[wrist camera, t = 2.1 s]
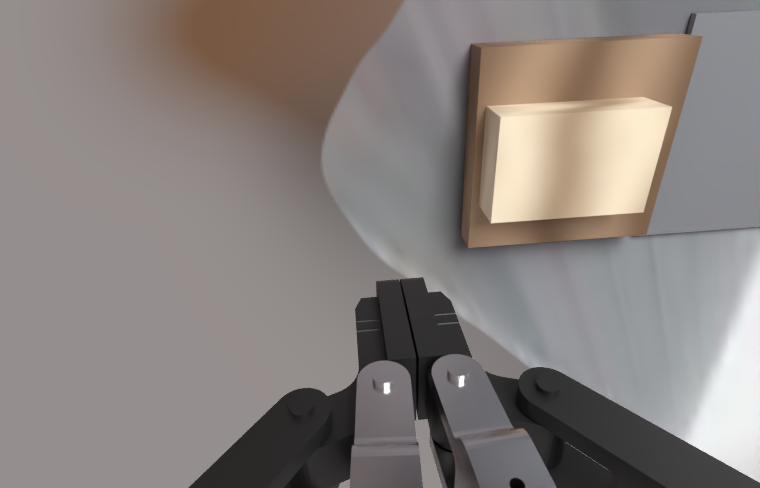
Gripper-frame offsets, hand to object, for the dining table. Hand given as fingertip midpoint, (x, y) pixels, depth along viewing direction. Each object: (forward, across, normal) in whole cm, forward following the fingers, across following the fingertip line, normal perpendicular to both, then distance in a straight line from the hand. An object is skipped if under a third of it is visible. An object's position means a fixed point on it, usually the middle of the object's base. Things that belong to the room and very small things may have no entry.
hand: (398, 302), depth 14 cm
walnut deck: (+15, -12, 0) cm, 19 cm away
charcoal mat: (+15, -26, 0) cm, 30 cm away
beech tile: (+13, -11, 0) cm, 17 cm away
